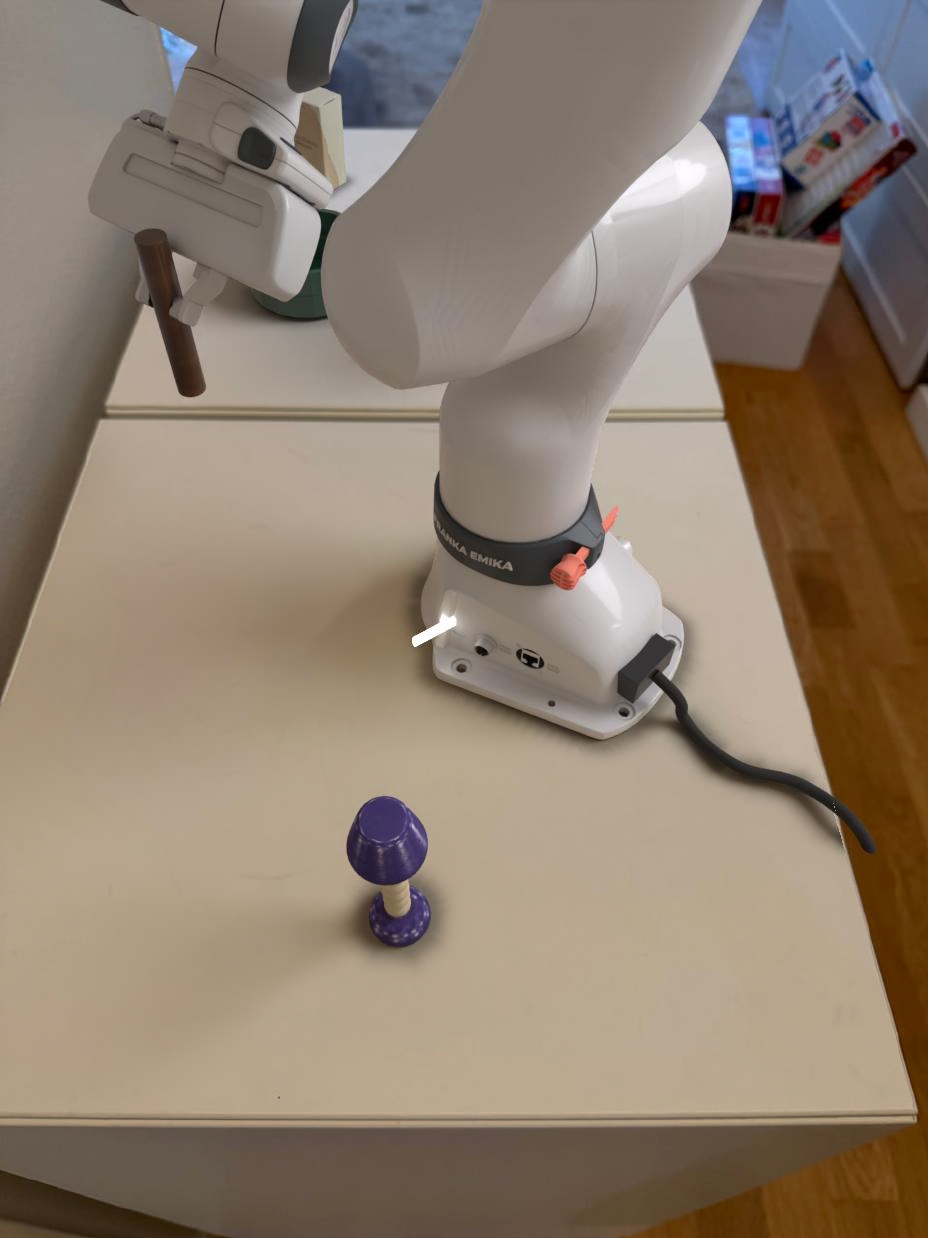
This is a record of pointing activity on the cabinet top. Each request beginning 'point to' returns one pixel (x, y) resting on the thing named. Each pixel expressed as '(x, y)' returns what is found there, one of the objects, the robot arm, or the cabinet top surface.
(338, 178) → the box
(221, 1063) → the cabinet top surface
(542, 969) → the cabinet top surface
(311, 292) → the bowl
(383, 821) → the toy lamp
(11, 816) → the cabinet top surface
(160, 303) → the stirring stick
